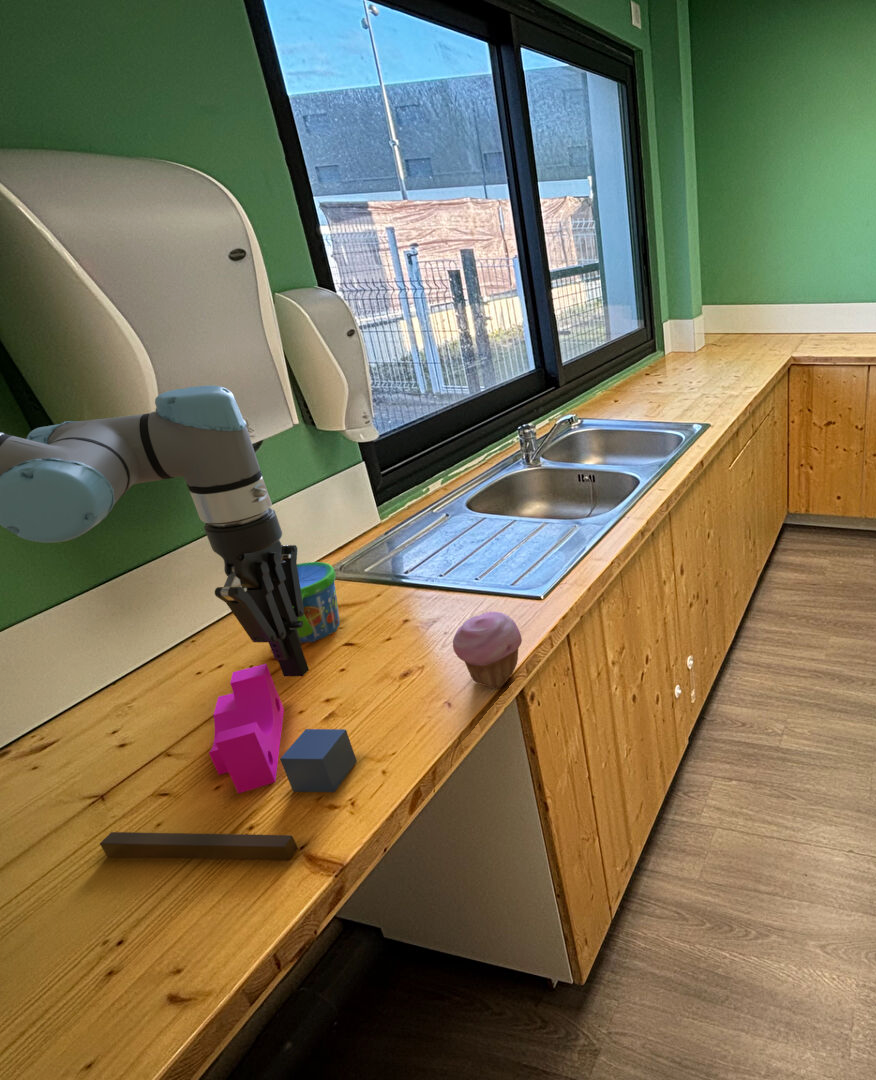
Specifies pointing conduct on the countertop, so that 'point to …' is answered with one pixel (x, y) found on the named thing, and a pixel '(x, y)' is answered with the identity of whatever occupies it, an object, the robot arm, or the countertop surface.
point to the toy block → (248, 729)
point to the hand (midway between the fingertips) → (296, 673)
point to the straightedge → (199, 846)
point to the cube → (318, 760)
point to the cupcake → (488, 647)
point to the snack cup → (317, 601)
